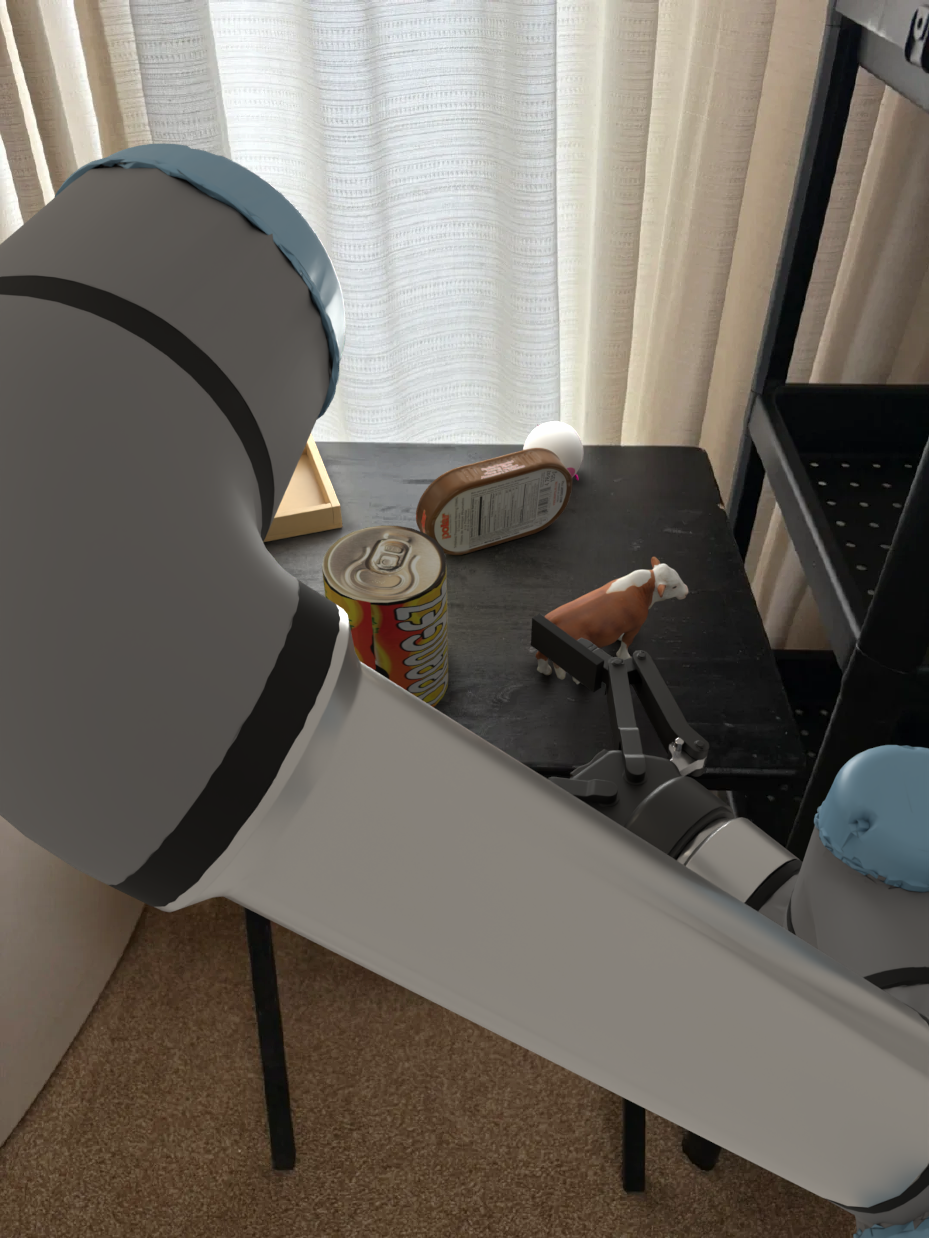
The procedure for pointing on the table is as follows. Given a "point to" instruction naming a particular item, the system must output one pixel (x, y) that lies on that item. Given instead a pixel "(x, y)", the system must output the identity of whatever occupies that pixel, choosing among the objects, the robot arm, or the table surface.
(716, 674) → the table surface
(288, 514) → the serving tray
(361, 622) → the beverage can
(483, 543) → the tin
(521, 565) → the table surface
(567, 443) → the stress ball
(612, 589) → the bull figurine
